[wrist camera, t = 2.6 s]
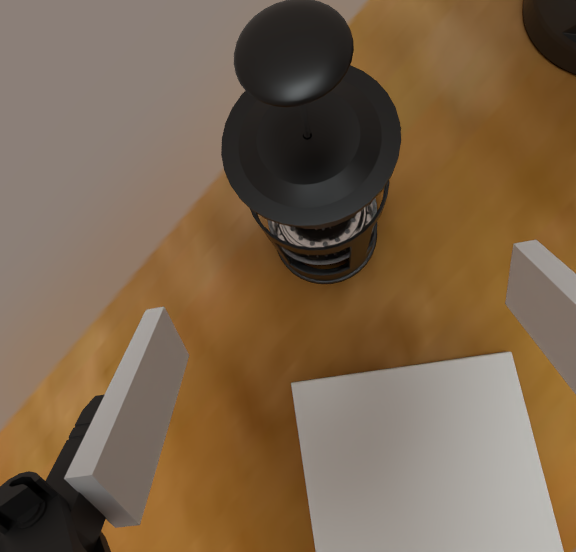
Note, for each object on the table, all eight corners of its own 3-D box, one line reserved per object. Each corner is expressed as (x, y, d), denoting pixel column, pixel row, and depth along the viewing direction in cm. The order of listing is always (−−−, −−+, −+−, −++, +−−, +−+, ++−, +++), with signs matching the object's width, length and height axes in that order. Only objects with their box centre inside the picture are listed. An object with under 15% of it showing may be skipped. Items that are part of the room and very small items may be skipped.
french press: (313, 310, 34) (254, 247, 12) (250, 235, 36) (97, 60, 14) (412, 226, 34) (544, 0, 12) (343, 156, 36) (342, -148, 14)
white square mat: (506, 351, 31) (511, 351, 30) (570, 599, 28) (578, 609, 27) (292, 382, 33) (291, 383, 32) (327, 616, 30) (326, 625, 29)
